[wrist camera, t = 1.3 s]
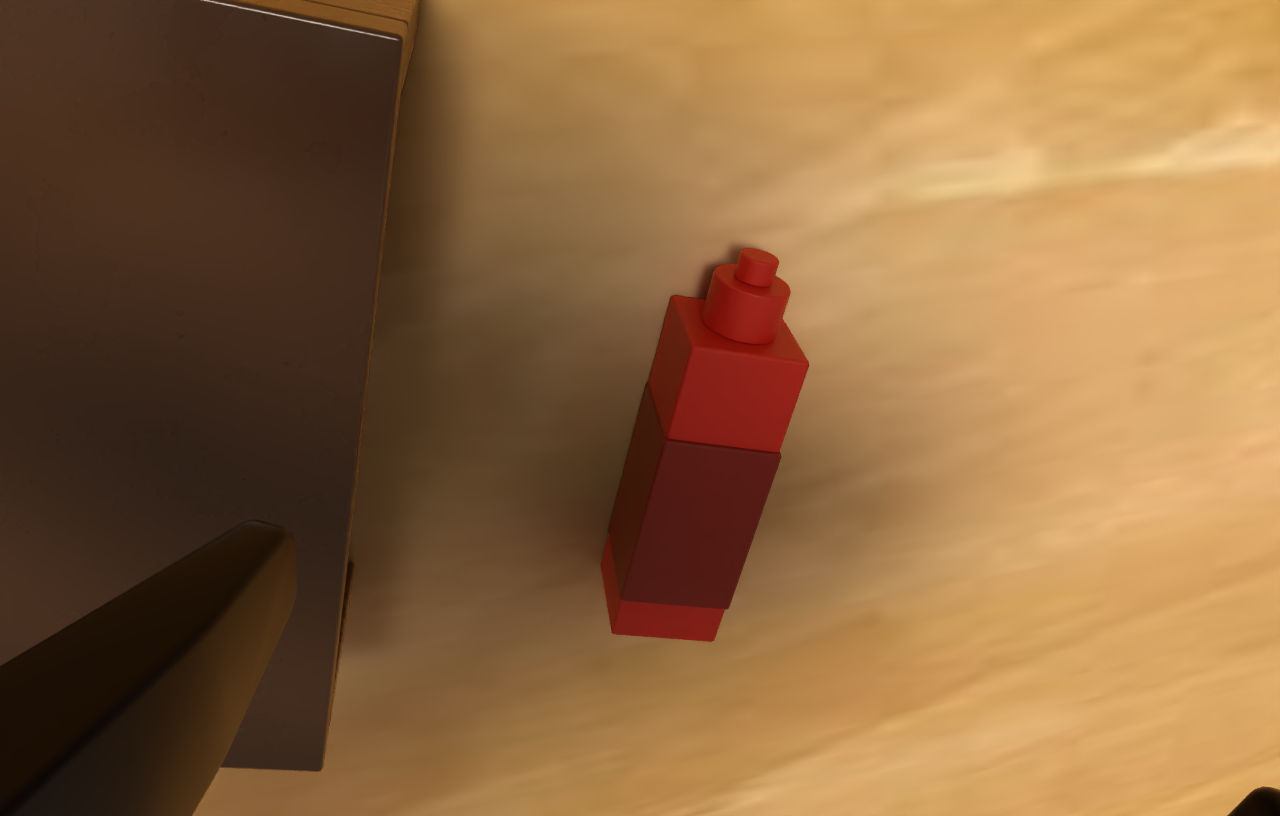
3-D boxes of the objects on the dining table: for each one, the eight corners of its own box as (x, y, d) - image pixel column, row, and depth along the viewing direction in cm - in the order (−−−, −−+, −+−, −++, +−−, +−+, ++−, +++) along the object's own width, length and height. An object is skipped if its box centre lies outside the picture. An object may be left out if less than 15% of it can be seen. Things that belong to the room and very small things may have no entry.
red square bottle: (696, 574, 29) (717, 646, 27) (597, 565, 28) (609, 637, 26) (803, 243, 24) (840, 292, 22) (687, 222, 24) (712, 271, 21)
